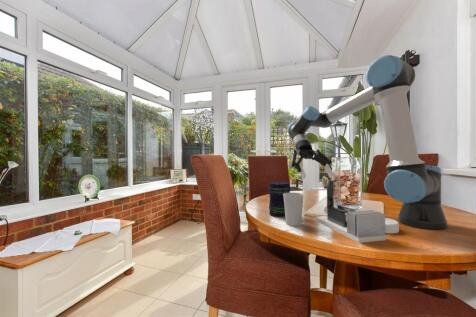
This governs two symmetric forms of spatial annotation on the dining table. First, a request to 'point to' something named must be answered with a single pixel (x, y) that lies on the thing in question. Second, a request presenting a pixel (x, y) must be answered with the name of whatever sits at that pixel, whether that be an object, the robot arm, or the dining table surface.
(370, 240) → the base board
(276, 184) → the storage jar
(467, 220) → the dining table surface
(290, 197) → the cup
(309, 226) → the dining table surface
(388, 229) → the coaster
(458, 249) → the dining table surface
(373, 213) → the sleeve and socket
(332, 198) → the dark grey l-shaped bracket
